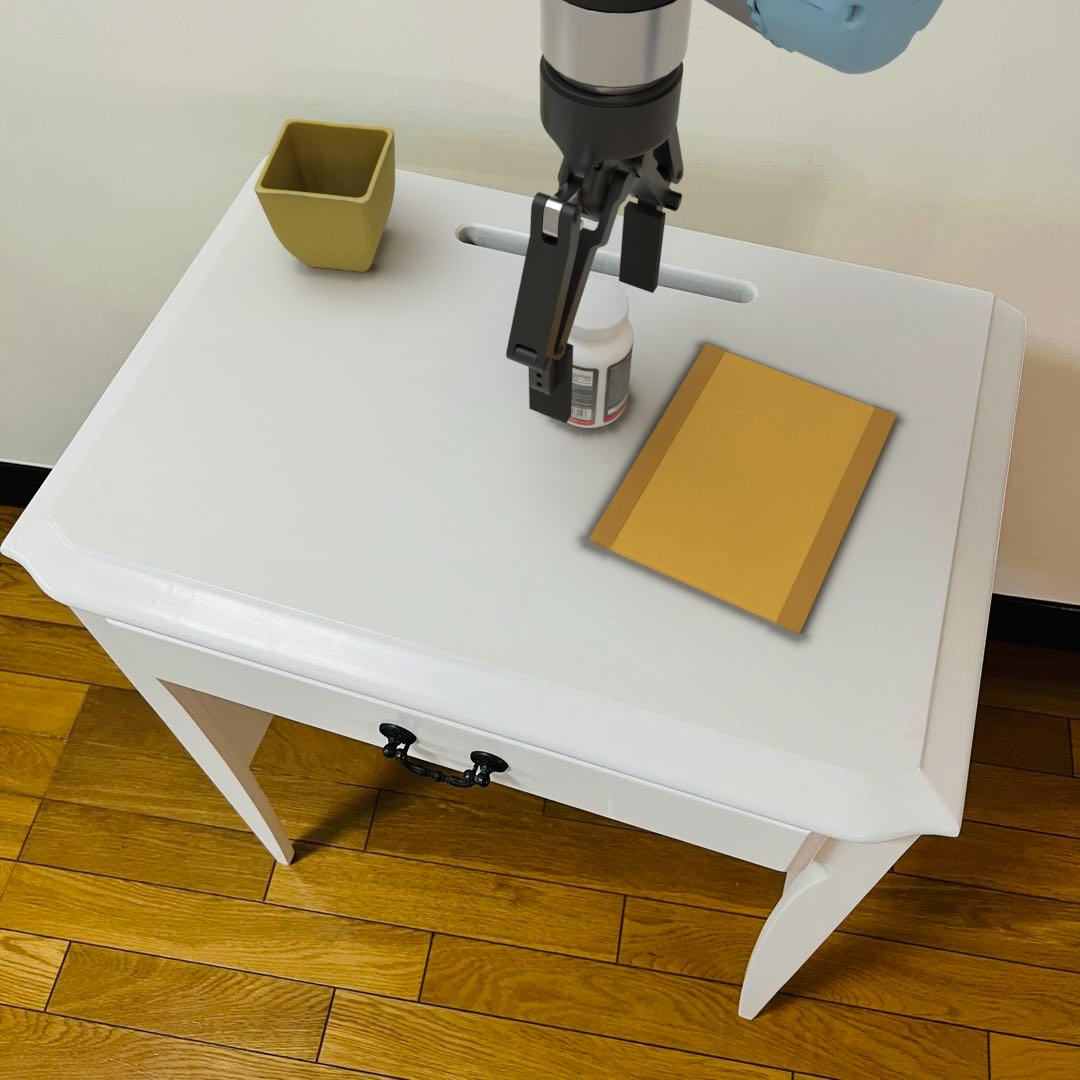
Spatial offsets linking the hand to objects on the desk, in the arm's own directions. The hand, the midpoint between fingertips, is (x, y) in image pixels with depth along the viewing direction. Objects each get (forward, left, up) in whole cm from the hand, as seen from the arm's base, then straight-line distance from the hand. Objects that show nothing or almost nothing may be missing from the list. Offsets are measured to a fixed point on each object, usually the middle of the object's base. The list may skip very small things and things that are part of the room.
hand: (596, 345), depth 72 cm
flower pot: (+25, -5, -6) cm, 27 cm away
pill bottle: (0, 0, -6) cm, 6 cm away
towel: (-13, +1, -6) cm, 14 cm away
